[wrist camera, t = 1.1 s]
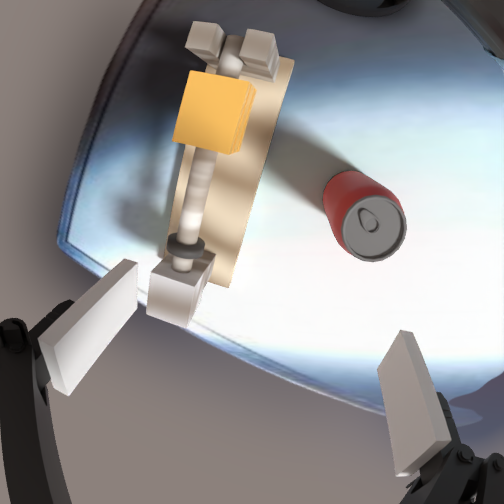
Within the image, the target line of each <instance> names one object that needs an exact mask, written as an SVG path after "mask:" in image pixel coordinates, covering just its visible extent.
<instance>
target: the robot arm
mask: <svg viewBox="0 0 504 504" xmlns="http://www.w3.org/2000/svg"><path fill="white" fill-rule="evenodd" d="M318 1H320V2H322V3H323V4H325V5H327V6H329V7H331V8H333V9H336V10H338V11H341V12H344V13H348V14H352V15H357V16H365V17H378V16H385V15H389V14H392V13H395V12H397V11H399V10H400V9H402V8H403V7H404V6H405V5H406V4H407V3H408V2H409V1H410V0H318ZM441 1H442V2H443V3H444V4H445V5H446V6H447V7H448V8H449V9H450V10H451V11H452V12H453V13H454V14H455V15H456V16H457V17H458V18H459V19H460V20H461V21H462V22H463V23H464V24H465V25H466V27H467V28H468V29H469V30H470V31H471V32H472V33H473V35H474V36H475V37H476V38H477V39H478V40H479V42H480V43H481V44H482V45H483V47H484V50H485V51H486V53H487V54H488V55H489V56H490V57H492V58H493V59H495V60H496V62H497V63H498V64H499V65H500V67H501V68H502V69H503V70H504V0H441ZM137 275H138V263H137V262H134V261H131V260H127V259H124V260H122V261H121V262H120V263H119V264H118V265H116V266H115V267H114V268H113V269H112V270H111V271H110V272H108V273H107V274H106V275H105V276H104V277H103V278H102V279H101V280H99V281H98V282H97V283H96V284H95V285H94V286H93V287H92V288H90V289H89V290H88V291H87V292H86V293H85V294H84V295H83V296H82V297H81V298H79V300H77V301H76V302H74V301H72V300H67V301H64V302H62V303H60V304H58V305H57V306H56V307H55V308H54V309H53V310H52V312H50V313H48V314H47V315H46V317H44V318H43V319H42V320H41V321H40V322H39V323H38V324H37V325H35V326H34V327H33V328H32V329H31V330H30V331H29V332H28V330H27V326H26V324H25V323H24V321H23V320H21V319H18V318H10V319H6V320H4V321H3V322H1V323H0V427H1V428H0V429H1V442H2V453H3V461H4V468H5V475H6V481H7V487H8V492H9V497H10V502H11V504H72V503H71V500H70V496H69V493H68V489H67V486H66V483H65V479H64V475H63V471H62V468H61V463H60V459H59V455H58V450H57V446H56V441H55V436H54V431H53V424H52V418H51V412H50V405H49V398H48V389H47V386H46V384H47V383H48V382H49V381H50V379H51V381H52V384H53V387H54V388H55V389H57V390H58V391H60V392H62V393H63V394H65V395H67V396H69V395H70V394H71V393H72V391H73V390H74V388H75V387H76V386H77V384H78V383H79V382H80V380H81V379H82V378H83V376H84V375H85V374H86V372H87V371H88V370H89V369H90V367H91V366H92V364H93V363H94V362H95V361H96V359H97V358H98V357H99V355H100V354H101V353H102V352H103V350H104V349H105V348H106V346H107V345H108V344H109V343H110V341H111V340H112V339H113V338H114V336H115V335H116V334H117V333H118V331H119V330H120V329H121V327H122V326H123V325H124V324H125V323H126V321H127V320H128V319H129V318H130V316H131V315H132V314H133V313H134V311H135V310H136V309H137ZM377 372H378V376H379V381H380V385H381V390H382V395H383V400H384V405H385V411H386V416H387V421H388V427H389V433H390V439H391V446H392V451H393V459H394V466H395V474H396V476H411V475H412V474H414V473H415V472H416V471H417V470H419V469H420V476H419V477H418V478H416V479H415V480H414V481H412V482H411V483H410V484H408V485H407V487H406V488H409V487H410V486H411V485H412V486H411V488H410V489H409V491H408V492H407V494H406V495H405V497H404V498H403V500H402V501H401V502H400V504H504V457H503V456H502V455H501V454H499V453H493V454H491V455H490V456H489V457H488V458H486V459H483V458H479V457H475V455H474V452H473V451H472V449H471V448H470V447H469V446H467V445H465V444H461V441H460V438H459V435H458V432H457V429H456V426H455V423H454V420H453V419H452V414H451V411H450V408H449V405H448V402H447V400H446V399H445V398H444V396H443V395H442V394H441V392H436V391H435V388H434V385H433V382H432V380H431V377H430V374H429V372H428V369H427V366H426V364H425V361H424V359H423V356H422V354H421V351H420V349H419V346H418V344H417V342H416V339H415V337H414V335H413V332H408V331H403V330H400V331H399V333H398V335H397V336H396V338H395V340H394V342H393V344H392V345H391V347H390V349H389V350H388V352H387V354H386V355H385V357H384V359H383V360H382V362H381V364H380V365H379V367H378V368H377ZM475 496H476V501H475V502H474V498H475Z"/></svg>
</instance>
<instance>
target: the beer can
mask: <svg viewBox="0 0 504 504" xmlns="http://www.w3.org/2000/svg"><path fill="white" fill-rule="evenodd" d="M323 205H324V209H325V212H326V215H327V218H328V220H329V223H330V226H331V229H332V231H333V234H334V236H335V238H336V240H337V242H338V244H339V245H340V246H341V247H342V248H343V249H344V250H345V251H347V252H348V253H349V254H351V255H353V256H354V257H356V258H358V259H360V260H362V261H368V262H376V261H381V260H384V259H386V258H388V257H390V256H392V255H393V254H394V253H395V252H396V251H397V250H398V249H399V248H400V246H401V245H402V243H403V241H404V239H405V235H406V230H407V225H406V218H405V215H404V211H403V209H402V207H401V204H400V202H399V200H398V199H397V197H396V196H395V195H394V194H393V193H392V192H391V191H390V190H388V189H387V188H385V187H384V186H382V185H381V184H379V183H378V182H376V181H374V180H373V179H371V178H370V177H368V176H366V175H364V174H362V173H361V172H357V171H345V172H341V173H339V174H337V175H335V176H334V177H333V178H332V179H331V180H330V181H329V182H328V183H327V185H326V187H325V189H324V193H323Z"/></svg>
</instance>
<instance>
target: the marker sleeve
mask: <svg viewBox="0 0 504 504" xmlns="http://www.w3.org/2000/svg"><path fill="white" fill-rule="evenodd" d="M256 92H257V90H256V89H255V87H254V86H253V85H252V84H251V83H250V82H249V81H244V80H240V79H235V78H230V77H225V76H220V75H215V74H209V73H204V72H198V71H191V70H190V74H189V77H188V81H187V84H186V88H185V91H184V95H183V99H182V103H181V106H180V110H179V114H178V118H177V122H176V126H175V131H174V135H173V139H172V141H173V142H178V143H182V144H187V145H191V146H195V147H199V148H203V149H207V150H211V151H215V152H219V153H223V154H227V155H230V154H231V153H232V154H233V153H236V152H239V151H240V148H241V144H242V140H243V137H244V133H245V130H246V126H247V123H248V119H249V116H250V112H251V109H252V105H253V102H254V98H255V95H256Z"/></svg>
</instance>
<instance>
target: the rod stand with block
mask: <svg viewBox="0 0 504 504" xmlns="http://www.w3.org/2000/svg"><path fill="white" fill-rule="evenodd" d="M185 48H187V49H188V50H190V51H191V52H192V53H194V54H195V55H197V56H198V57H199V58H201V59H202V60H204V61H205V62H206V63H208V64H207V67H206V71H205V73H209V74H215V75H220V76H225V77H230V78H235V79H240V80H244V81H249V82H250V83H251V84H252V85H253V86H254V87H255V89H256V90H257V92H256V95H255V98H254V102H253V105H252V109H251V112H250V116H249V119H248V123H247V126H246V130H245V133H244V137H243V140H242V144H241V148H240V151H239V152H236V153H233V154H232V153H231V154H230V155H227V154H223V153H219V152H215V151H211V150H207V149H203V148H199V147H195V146H191V145H187V144H186V146H185V150H184V154H183V159H182V163H181V168H180V172H179V177H178V182H177V187H176V192H175V197H174V202H173V207H172V212H171V217H170V223H169V228H168V234H167V240H166V246H165V252H164V259H163V260H162V261H161V262H160V263H159V264H158V265H157V266H156V267H155V268H154V269H153V270H152V271H151V274H150V283H149V291H148V301H147V312H146V314H147V315H150V316H153V317H155V318H158V319H161V320H164V321H166V322H169V323H172V324H175V325H177V326H180V327H183V328H187V326H188V325H189V323H190V321H191V319H192V317H193V315H194V313H195V311H196V310H197V308H198V306H199V304H200V301H201V296H202V292H203V289H204V287H205V285H206V284H207V282H211V283H214V284H217V285H220V286H223V287H226V288H229V286H230V283H231V280H232V276H233V273H234V269H235V266H236V262H237V258H238V255H239V251H240V248H241V244H242V241H243V237H244V234H245V230H246V226H247V223H248V219H249V216H250V212H251V209H252V205H253V202H254V198H255V195H256V191H257V188H258V185H259V181H260V178H261V174H262V171H263V167H264V164H265V160H266V157H267V153H268V150H269V147H270V143H271V140H272V136H273V133H274V130H275V126H276V123H277V119H278V116H279V113H280V109H281V106H282V103H283V99H284V96H285V93H286V89H287V86H288V83H289V79H290V76H291V73H292V69H293V66H294V60H292V59H288V58H284V57H280V56H279V54H278V50H277V45H276V41H275V37H274V34H272V33H267V32H262V31H258V30H252V29H248V30H247V33H246V36H245V38H244V37H241V36H236V35H228V36H226V34H225V33H224V32H223V30H222V29H221V28H220V26H219V25H218V24H214V23H206V22H197V21H193V24H192V27H191V30H190V33H189V36H188V39H187V42H186V45H185Z"/></svg>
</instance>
